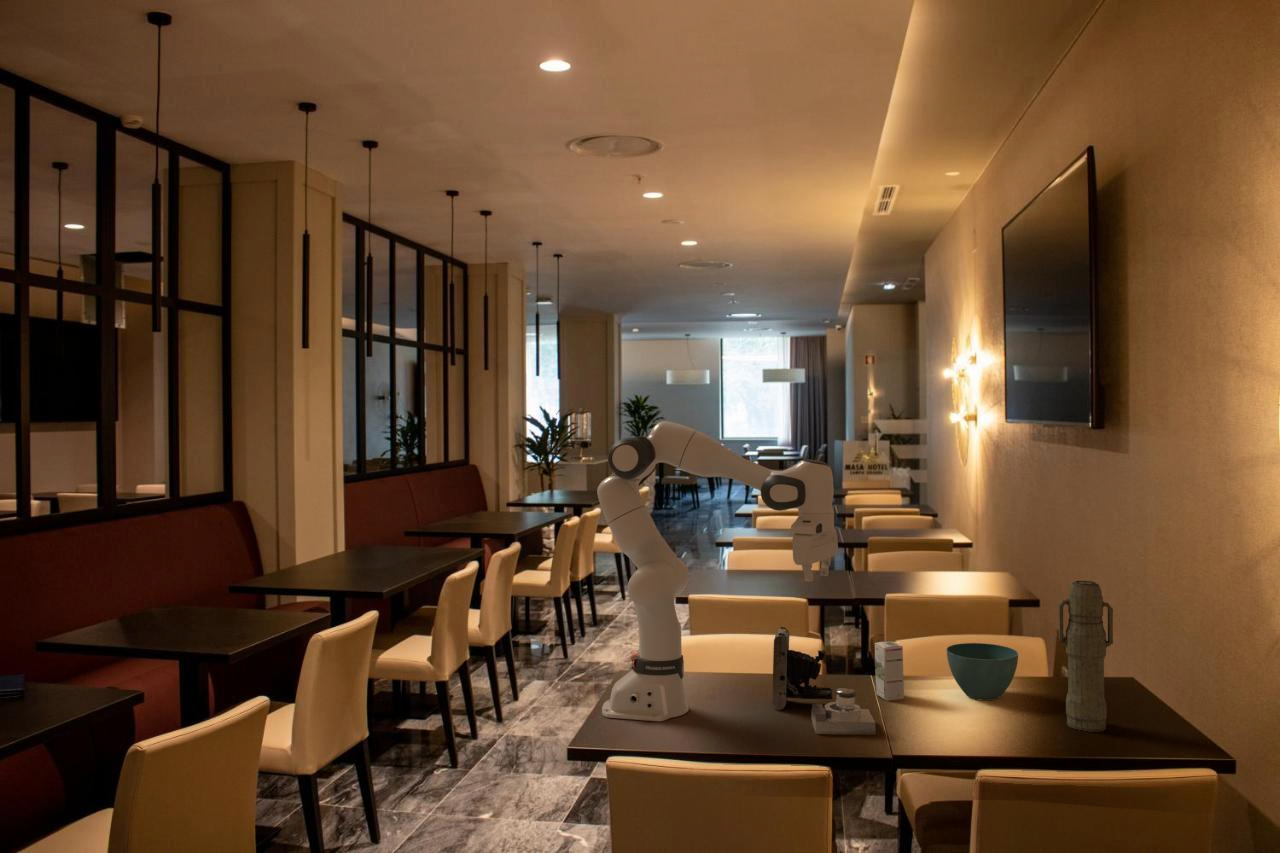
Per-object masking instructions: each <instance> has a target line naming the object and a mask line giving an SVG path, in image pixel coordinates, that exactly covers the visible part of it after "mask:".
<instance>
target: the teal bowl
mask: <svg viewBox="0 0 1280 853" xmlns="http://www.w3.org/2000/svg"><path fill="white" fill-rule="evenodd" d="M946 657H947V662H948V666H949V669H950V672H951V674H952V676H953V679H954V680H955V682H956V683H957V685H958V687H960V690H962V692H963V693H964V694H965V695H966V696H967V697H968V696H969V697H968V698H970V697H971V698H970V699H973V698H975V699H974V700H978V699H982V700H981V701H995V700H998V699H999V698H1000V697H1001V696H1002V695H1003V694H1004V693H1005V692H1006V691H1007V689H1008V688H1009V687H1010V685H1011V683H1012V681H1013V679H1014V676H1015V674H1016V671H1017V668H1018V667H1017V666H1018V661H1019V652H1018V651H1017V650H1016V649H1014V648H1011V647H1008V646H1005V645H999V644H993V643H986V642H985V643H983V642H982V643H981V642H965V643H956V644H951V645H949V646H948V647H946ZM994 699H995V700H994Z"/></svg>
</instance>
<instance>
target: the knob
mask: <svg viewBox="0 0 1280 853" xmlns="http://www.w3.org/2000/svg"><path fill="white" fill-rule="evenodd" d="M834 692H835V702H836V710H839V711H850V710H854V709H855V704H856V696H857V691H856V690H855V689H853V688H848V687H839V688H838V687H837V688H835V691H834Z"/></svg>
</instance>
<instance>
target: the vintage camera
mask: <svg viewBox="0 0 1280 853" xmlns="http://www.w3.org/2000/svg"><path fill="white" fill-rule="evenodd" d="M772 652H773V654H772V656H773V658H772V691H771V692H772V700H771V701H772V702H771V703H772V706H773V708H774V709H775V710H778V711H780V710H783V709H785V707H786V705H787V699H800V700H833V689H832V688H831V687H829V686H828V687H826V686H825V687H821V686H817V685H816V684H815V685H813V686H812V685H811V684H810V679H811V680H814V681H816V680H817V678H818V677H819V675H820V672H821V666H822V663H820V661H824V659H825V652H824V651H823V650H817V654H818V655H816V656H815V657H814V656H812V655H810V654H806V653H804V652H802V651H799V650H797V651H796V650H794V649H793V650H792V649H790V632H789V629H787V627H785V626H780V627H779V628H778V629H777V630H776V632H775V635H774V639H773V651H772ZM802 684H804V686H803V685H802ZM828 703H829V702H827V703H826V704H828Z"/></svg>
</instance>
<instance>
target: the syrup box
mask: <svg viewBox="0 0 1280 853" xmlns="http://www.w3.org/2000/svg"><path fill="white" fill-rule="evenodd" d="M874 668H875V669H874V672H875V673H874V674H875V676H874V678H875V680H874V681H875V695H876V696H878V697H879V698H880V699H882V700H883V701H887V702H889V701H897V700H898V701H900V700H901V701H902V700H905V690H904V689H905V687H904V686H905V685H904V684H905V683H904V679H905V678H904V646H903V645H902V644H899V643H897V642H894V641H891V640H890V641H889V640H888V641H887V640H885V641H879V642H874Z"/></svg>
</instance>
